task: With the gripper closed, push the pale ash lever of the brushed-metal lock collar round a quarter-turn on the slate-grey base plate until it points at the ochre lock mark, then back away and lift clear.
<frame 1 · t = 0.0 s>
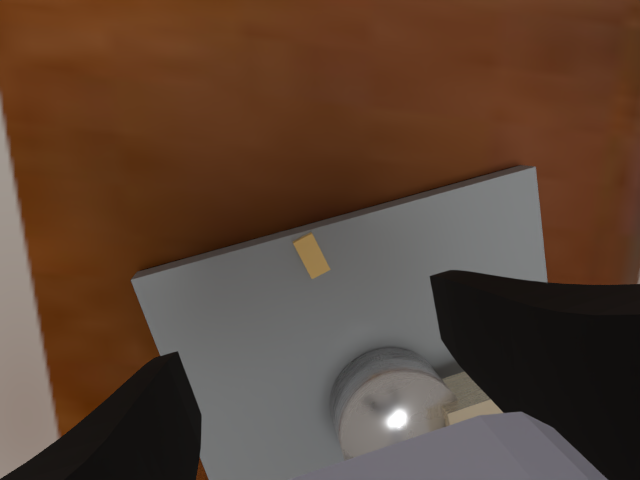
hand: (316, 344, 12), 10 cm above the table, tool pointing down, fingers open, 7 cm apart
lock plate: (378, 385, 24), on the table
coupling: (471, 395, 21), point 3 cm above the table, hinge at 0.0°
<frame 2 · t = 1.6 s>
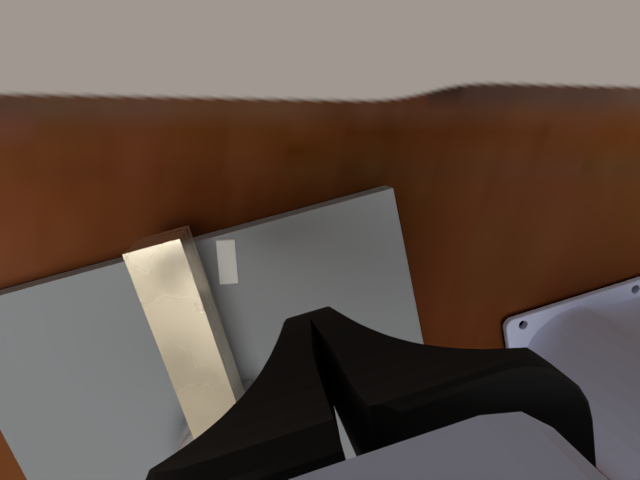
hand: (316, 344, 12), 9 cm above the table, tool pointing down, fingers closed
lock plate: (242, 417, 22), on the table
coupling: (215, 387, 18), point 3 cm above the table, hinge at 0.0°
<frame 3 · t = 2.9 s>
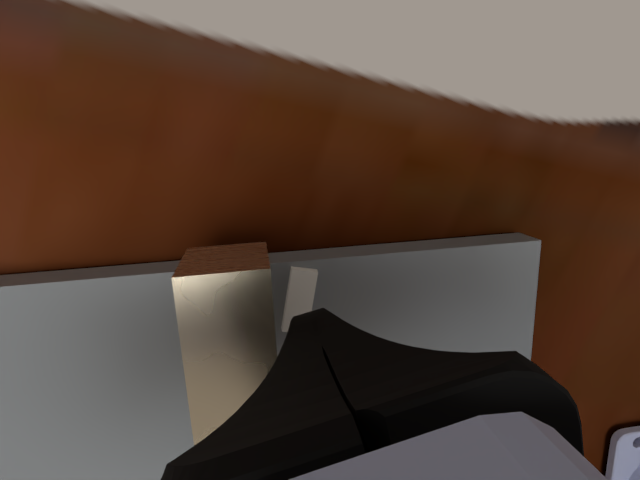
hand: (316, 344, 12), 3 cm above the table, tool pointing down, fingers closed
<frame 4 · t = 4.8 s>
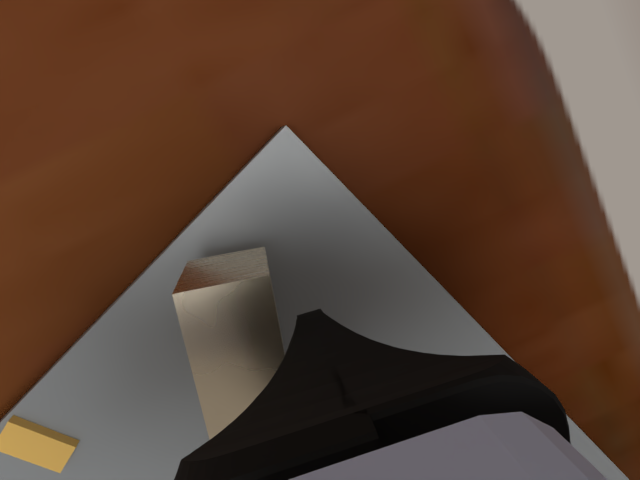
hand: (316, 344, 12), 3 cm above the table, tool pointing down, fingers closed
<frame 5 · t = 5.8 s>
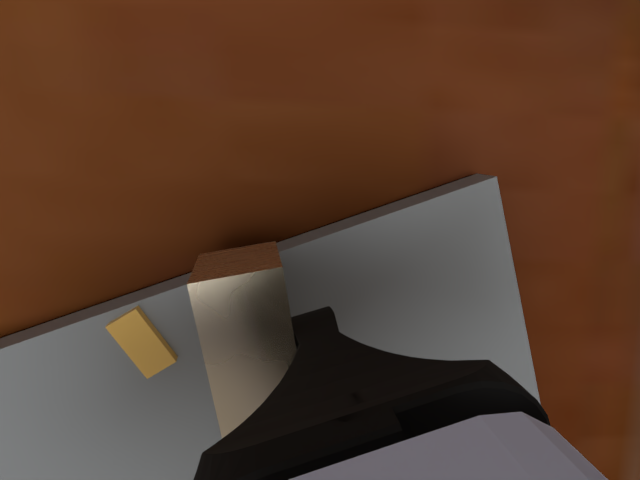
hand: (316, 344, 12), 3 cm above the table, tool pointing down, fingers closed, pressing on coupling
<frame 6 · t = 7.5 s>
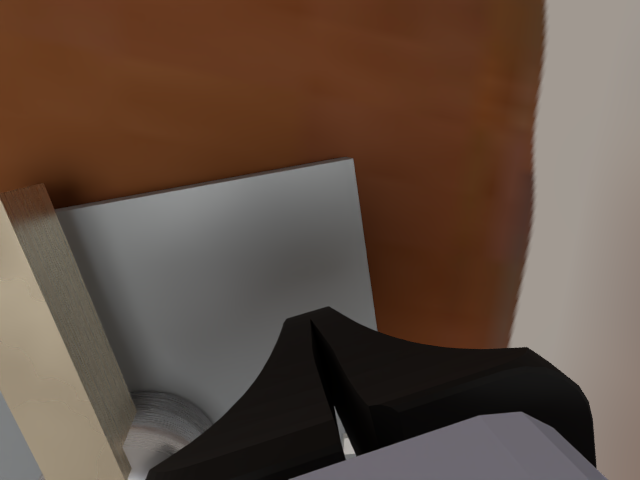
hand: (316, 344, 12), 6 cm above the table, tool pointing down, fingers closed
lock plate: (150, 436, 18), on the table
coupling: (89, 401, 14), point 3 cm above the table, hinge at 93.6°
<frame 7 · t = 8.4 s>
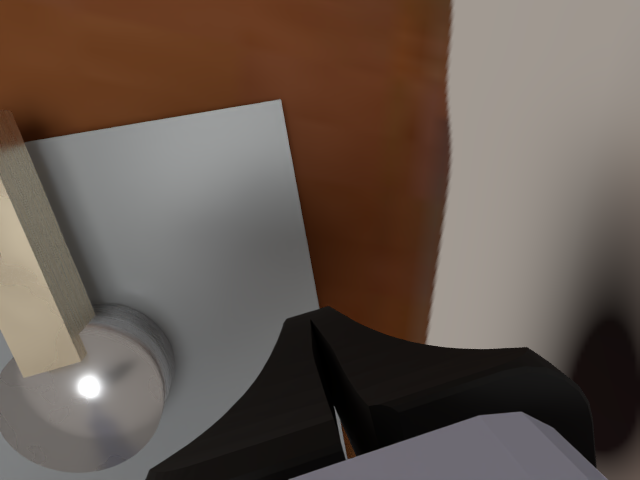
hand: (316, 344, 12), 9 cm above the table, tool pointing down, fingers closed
lock plate: (114, 351, 20), on the table
coupling: (52, 300, 16), point 3 cm above the table, hinge at 93.6°
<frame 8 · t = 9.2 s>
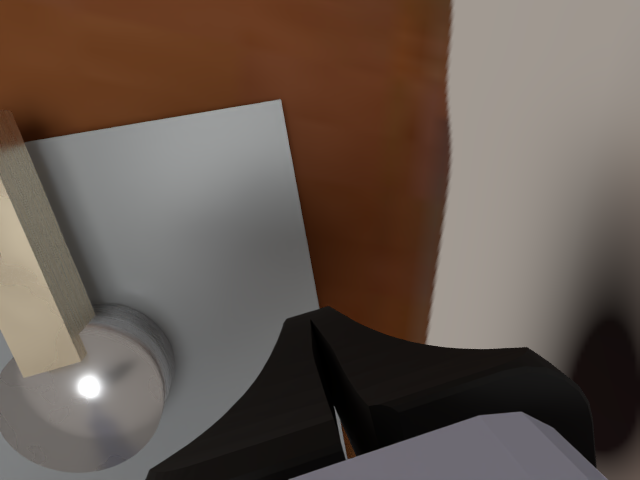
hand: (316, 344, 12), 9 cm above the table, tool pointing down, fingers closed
lock plate: (114, 351, 20), on the table
coupling: (52, 300, 16), point 3 cm above the table, hinge at 93.6°
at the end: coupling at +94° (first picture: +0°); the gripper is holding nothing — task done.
